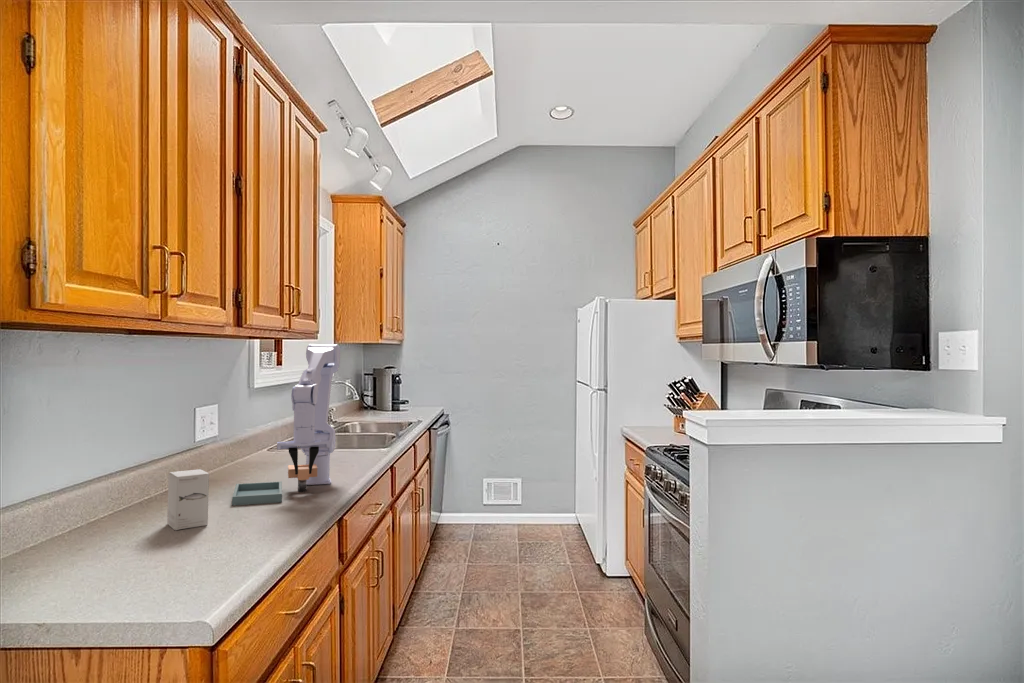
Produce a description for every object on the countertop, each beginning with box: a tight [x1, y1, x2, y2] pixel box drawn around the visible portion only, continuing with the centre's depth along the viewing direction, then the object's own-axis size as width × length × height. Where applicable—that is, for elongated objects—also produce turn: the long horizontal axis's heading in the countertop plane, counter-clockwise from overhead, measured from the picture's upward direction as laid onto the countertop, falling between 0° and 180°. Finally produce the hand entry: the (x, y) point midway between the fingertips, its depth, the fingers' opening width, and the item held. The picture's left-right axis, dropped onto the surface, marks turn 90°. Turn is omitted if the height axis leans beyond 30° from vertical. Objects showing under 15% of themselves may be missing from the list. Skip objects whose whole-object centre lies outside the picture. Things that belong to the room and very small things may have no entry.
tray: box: [231, 480, 283, 506], centre depth 181 cm, size 17×13×2 cm
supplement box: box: [166, 469, 210, 531], centre depth 153 cm, size 7×7×13 cm
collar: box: [287, 463, 317, 481], centre depth 187 cm, size 12×8×3 cm, turn 20°
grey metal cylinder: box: [297, 479, 307, 493], centre depth 189 cm, size 2×2×4 cm
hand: (303, 473), depth 184 cm, fingers closed on collar, 3 cm apart
